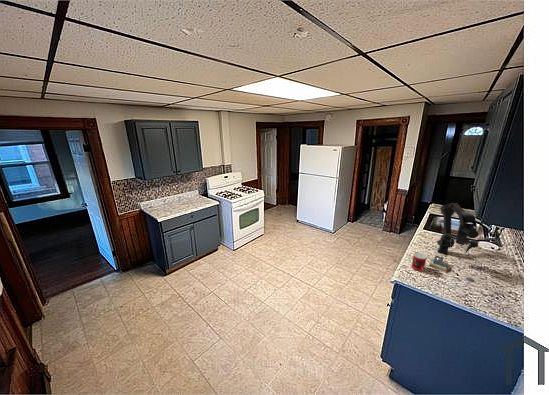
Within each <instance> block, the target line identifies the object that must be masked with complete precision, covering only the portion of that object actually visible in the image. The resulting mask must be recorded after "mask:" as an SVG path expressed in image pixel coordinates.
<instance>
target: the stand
mask: <svg viewBox="0 0 549 395" xmlns="http://www.w3.org/2000/svg"><path fill="white" fill-rule="evenodd" d="M434 258H435V257H432V258H431V259H430V261H429V266H428V267H429V268H433V269H435V270H438V271H441V272H444V273H446V272H447V270H448V265H449V263H448V262H446V261H444V260H443V262H442V266H439V265H436V264H433V262H434Z"/></svg>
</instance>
